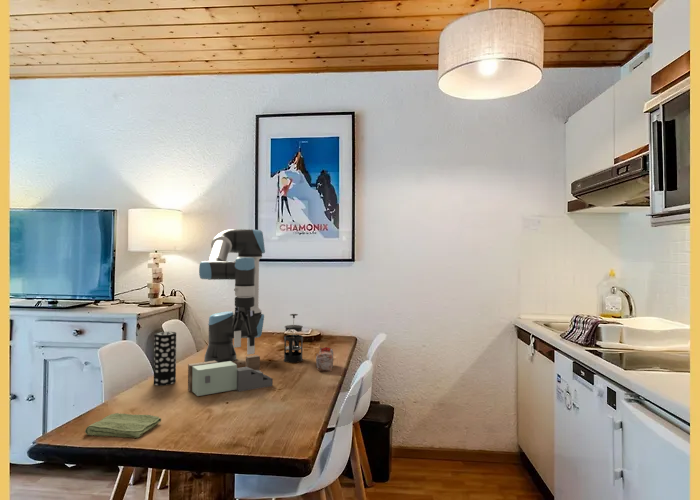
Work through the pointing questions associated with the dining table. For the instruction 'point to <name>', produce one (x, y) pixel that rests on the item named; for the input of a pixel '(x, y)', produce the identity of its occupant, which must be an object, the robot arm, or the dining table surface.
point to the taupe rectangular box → (251, 362)
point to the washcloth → (123, 425)
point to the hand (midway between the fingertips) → (243, 350)
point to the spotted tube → (164, 358)
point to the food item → (325, 359)
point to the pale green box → (214, 378)
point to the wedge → (251, 379)
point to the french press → (296, 355)
